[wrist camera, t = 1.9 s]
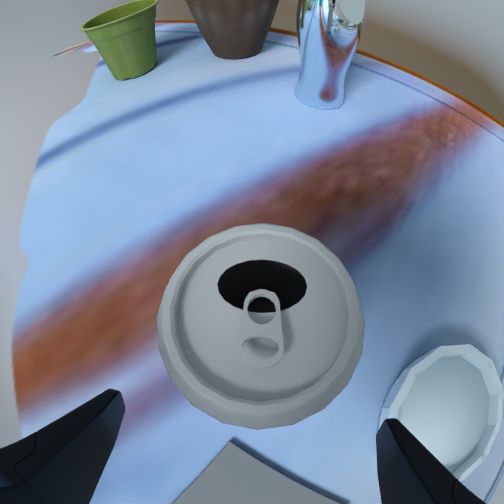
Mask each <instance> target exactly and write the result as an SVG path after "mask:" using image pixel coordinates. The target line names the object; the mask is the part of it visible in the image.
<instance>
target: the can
mask: <svg viewBox="0 0 504 504" xmlns="http://www.w3.org/2000/svg"><path fill="white" fill-rule="evenodd" d="M364 325H365V321H364V317H363V312H362V308H361V304H360V299H359V295H358V292H357V290H356V287H355V283H354V282H353V280H352V278H351V277H350V275H349V273H348V272H347V270H346V268H345V267H344V265H343V264H342V262H341V260H340V259H339V258H338V257H337V256H336V255H335V254H334V253H333V252H331V251H330V250H329V249H328V248H327V247H326V246H325V245H323V244H322V243H321V242H320V241H319V240H318V239H316V238H313V237H311V236H309V235H307V234H305V233H303V232H301V231H298V230H296V229H294V228H292V227H286V226H280V225H273V224H267V223H259V224H250V225H241V226H235V227H232V228H230V229H227V230H225V231H222V232H220V233H217V234H215V235H213V236H210V237H208V238H207V239H206V240H204V241H203V242H202V243H201V244H199V245H198V246H197V247H196V248H194V249H193V250H192V251H191V252H189V253H188V254H187V255H186V256H185V258H184V259H183V261H182V262H181V263H180V265H179V266H178V268H177V269H176V271H175V272H174V274H173V275H172V277H171V278H170V280H169V284H168V285H167V287H166V289H165V292H164V295H163V299H162V302H161V305H160V309H159V312H158V316H157V328H158V349H159V352H160V354H161V357H162V360H163V362H164V365H165V367H166V370H167V372H168V375H169V377H170V380H171V381H172V382H173V383H174V384H175V386H176V387H177V388H178V389H179V390H180V392H181V393H182V394H183V395H184V396H185V397H186V399H187V400H188V401H189V402H190V403H191V404H192V405H193V406H195V407H196V408H198V409H200V410H201V411H203V412H205V413H206V414H208V415H210V416H211V417H213V418H215V419H217V420H219V421H220V422H222V423H226V424H231V425H236V426H241V427H246V428H251V429H257V430H259V429H267V428H274V427H281V426H288V425H293V424H295V423H297V422H299V421H301V420H303V419H305V418H307V417H309V416H311V415H313V414H315V413H317V412H319V411H321V410H323V409H324V408H325V407H326V406H327V405H328V404H329V403H330V402H331V401H332V400H333V399H334V398H335V397H336V396H337V395H338V394H339V393H340V392H341V391H342V390H343V389H344V388H345V387H346V386H347V384H348V383H349V381H350V379H351V377H352V374H353V372H354V370H355V368H356V366H357V363H358V361H359V359H360V357H361V354H362V347H363V337H364Z"/></svg>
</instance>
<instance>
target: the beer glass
mask: <svg viewBox="0 0 504 504" xmlns="http://www.w3.org/2000/svg"><path fill="white" fill-rule="evenodd" d="M365 6H366V0H298V6H297V25H296V26H297V38H298V46H299V53H300V75H299V79H298V82H297V85H296V88H295V96H296V97H297V99H298V100H299V101H300V102H302V103H303V104H305V105H307V106H310V107H313V108H317V109H335V108H337V107H339V106H341V105H342V103H343V101H344V81H345V76H346V72H347V70H348V67H349V65H350V63H351V60H352V58H353V56H354V54H355V51H356V49H357V46H358V43H359V41H360V38H361V34H362V30H363V25H364V18H365Z"/></svg>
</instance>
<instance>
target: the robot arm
mask: <svg viewBox="0 0 504 504" xmlns="http://www.w3.org/2000/svg"><path fill="white" fill-rule="evenodd" d="M124 413H125V404H124V401H123V398H122V394H121V392H120V391H117V390H114V389H108V390H106V391H104V392H103V393H101V394H99V395H98V396H96V397H94V398H93V399H91V400H89V401H88V402H86V403H84V404H83V405H81V406H79V407H78V408H76V409H74V410H73V411H71V412H69V413H68V414H66V415H64V416H63V417H61V418H59V419H57V420H56V421H54V422H52V423H50V424H49V425H47V426H45V427H44V428H42V429H40V430H38V431H37V432H35V433H33V434H31V435H29V436H27V437H25V438H23V439H22V440H20V441H18V442H15V443H13V444H11V445H8V446H6V447H3V448H1V449H0V504H89V503H90V501H91V498H92V496H93V493H94V491H95V489H96V486H97V484H98V482H99V479H100V477H101V475H102V472H103V470H104V468H105V466H106V463H107V461H108V459H109V456H110V454H111V452H112V450H113V447H114V445H115V442H116V439H117V435H118V432H119V429H120V426H121V423H122V419H123V416H124ZM376 447H377V471H378V480H379V487H380V494H381V502H382V504H486V503H485V502H484V501H482V500H481V499H480V498H478V497H477V496H476V495H474V494H473V493H472V492H471V491H470V490H468V489H467V488H466V487H465V486H464V485H463V484H462V483H461V482H460V481H459V480H458V479H457V478H455V476H454V475H453V474H452V473H451V472H450V471H449V470H448V469H447V468H446V467H445V466H444V465H443V464H442V463H441V462H440V461H439V460H438V459H437V458H436V457H435V456H434V455H433V454H432V453H431V452H430V451H429V450H428V449H427V448H426V447H425V446H424V445H423V444H422V443H421V442H420V441H419V440H418V439H417V438H416V437H415V436H414V435H413V434H412V433H411V432H410V431H409V430H408V429H407V428H406V427H405V426H404V425H403V424H402V423H401V422H400V421H399V420H398V419H396V418H387V419H385V420H384V421H383V423H382V425H381V426H380V428H379V430H378V432H377V434H376Z"/></svg>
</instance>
